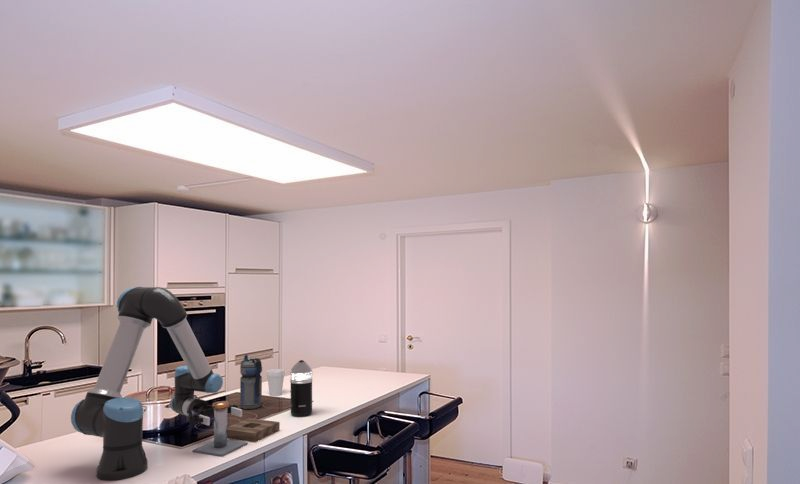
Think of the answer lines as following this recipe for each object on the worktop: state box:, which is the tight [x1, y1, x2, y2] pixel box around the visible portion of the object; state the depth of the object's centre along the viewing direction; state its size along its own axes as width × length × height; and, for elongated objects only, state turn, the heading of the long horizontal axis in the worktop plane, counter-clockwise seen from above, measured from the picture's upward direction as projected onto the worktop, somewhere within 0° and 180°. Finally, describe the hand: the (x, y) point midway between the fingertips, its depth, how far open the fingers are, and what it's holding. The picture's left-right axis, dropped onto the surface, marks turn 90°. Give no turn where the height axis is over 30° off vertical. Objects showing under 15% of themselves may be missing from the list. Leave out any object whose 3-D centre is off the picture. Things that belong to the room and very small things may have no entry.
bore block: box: [227, 417, 281, 443], centre depth 211 cm, size 16×16×4 cm
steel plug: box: [211, 400, 230, 448], centre depth 195 cm, size 6×6×16 cm
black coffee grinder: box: [289, 359, 313, 418], centre depth 240 cm, size 10×10×25 cm
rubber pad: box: [192, 438, 249, 458], centre depth 195 cm, size 14×14×1 cm
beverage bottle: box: [239, 354, 263, 410], centre depth 254 cm, size 10×13×25 cm
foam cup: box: [266, 368, 285, 397], centre depth 279 cm, size 10×9×13 cm
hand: (225, 417), depth 193 cm, fingers open, 13 cm apart
